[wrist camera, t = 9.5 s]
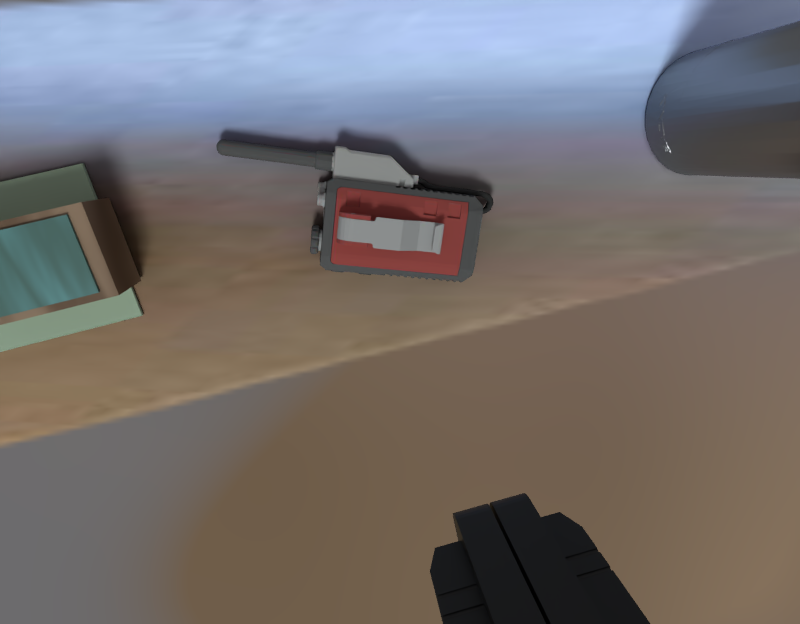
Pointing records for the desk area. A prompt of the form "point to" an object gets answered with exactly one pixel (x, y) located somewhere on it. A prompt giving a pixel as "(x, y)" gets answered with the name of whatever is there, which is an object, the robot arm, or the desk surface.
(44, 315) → the mat
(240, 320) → the desk surface
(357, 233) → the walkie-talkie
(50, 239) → the brown teal box
